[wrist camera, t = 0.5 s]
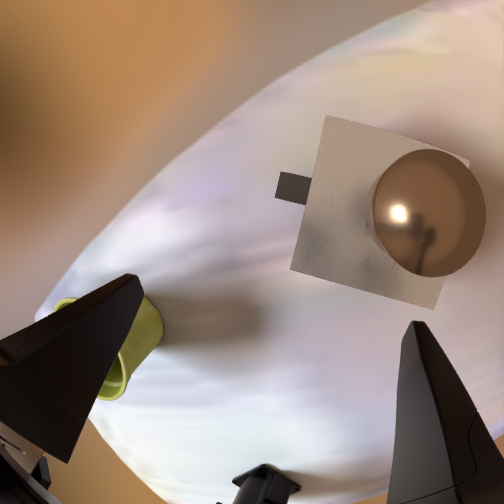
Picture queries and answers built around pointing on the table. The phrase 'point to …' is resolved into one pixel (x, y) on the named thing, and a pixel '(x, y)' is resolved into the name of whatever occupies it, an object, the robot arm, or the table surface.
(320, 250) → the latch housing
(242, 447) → the table surface
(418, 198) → the bronze domed cylinder
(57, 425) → the robot arm
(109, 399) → the plant pot
